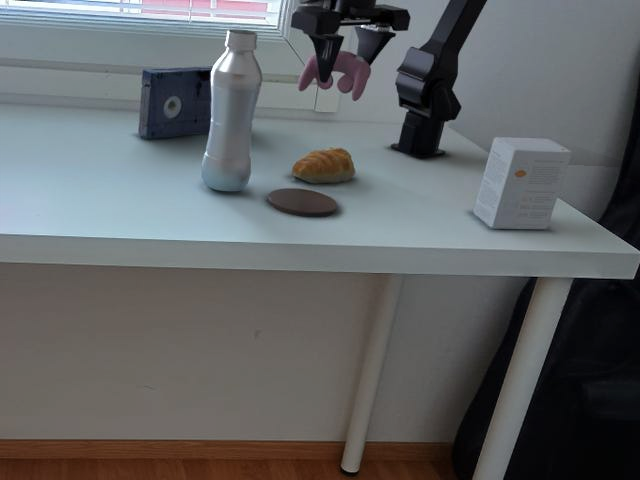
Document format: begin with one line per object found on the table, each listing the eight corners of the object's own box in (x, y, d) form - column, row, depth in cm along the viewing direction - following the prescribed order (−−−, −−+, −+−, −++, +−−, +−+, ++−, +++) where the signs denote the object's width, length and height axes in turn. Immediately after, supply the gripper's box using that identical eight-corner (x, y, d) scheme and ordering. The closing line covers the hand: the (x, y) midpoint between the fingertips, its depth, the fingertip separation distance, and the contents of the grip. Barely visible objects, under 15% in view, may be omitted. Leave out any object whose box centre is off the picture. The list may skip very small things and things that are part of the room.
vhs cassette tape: (229, 125, 142) (237, 63, 137) (240, 130, 140) (248, 68, 135) (135, 134, 133) (140, 68, 128) (145, 139, 131) (150, 73, 126)
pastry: (313, 189, 117) (318, 162, 115) (278, 175, 122) (282, 148, 120) (357, 179, 123) (362, 153, 121) (322, 166, 127) (326, 140, 125)
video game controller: (364, 107, 126) (378, 59, 125) (357, 100, 122) (371, 50, 121) (301, 95, 130) (314, 49, 129) (293, 88, 126) (306, 40, 124)
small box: (526, 214, 115) (550, 138, 110) (547, 230, 111) (574, 151, 105) (471, 213, 114) (493, 135, 109) (490, 229, 109) (514, 149, 104)
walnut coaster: (302, 188, 117) (303, 184, 117) (350, 210, 111) (351, 206, 111) (253, 197, 112) (254, 193, 112) (301, 221, 106) (302, 216, 106)
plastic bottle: (234, 200, 111) (256, 39, 100) (189, 188, 113) (206, 30, 103) (256, 188, 115) (278, 33, 105) (212, 176, 118) (230, 25, 108)
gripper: (366, -42, 128) (346, 65, 136) (272, -44, 118) (257, 72, 126) (423, -32, 120) (399, 81, 128) (329, -32, 110) (308, 90, 118)
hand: (340, 80), depth 125 cm, fingers closed on video game controller, 7 cm apart
